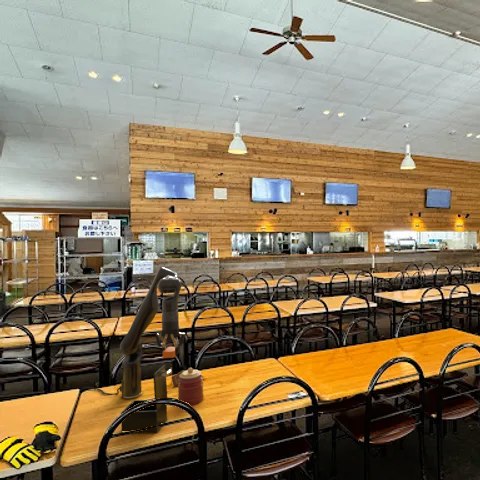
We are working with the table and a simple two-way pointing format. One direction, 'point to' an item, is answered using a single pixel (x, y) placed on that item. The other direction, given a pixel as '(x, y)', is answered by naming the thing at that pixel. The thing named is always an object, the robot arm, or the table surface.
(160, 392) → the bin lid
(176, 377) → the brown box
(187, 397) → the kitchen canister
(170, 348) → the block
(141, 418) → the trash bin
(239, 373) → the table surface
